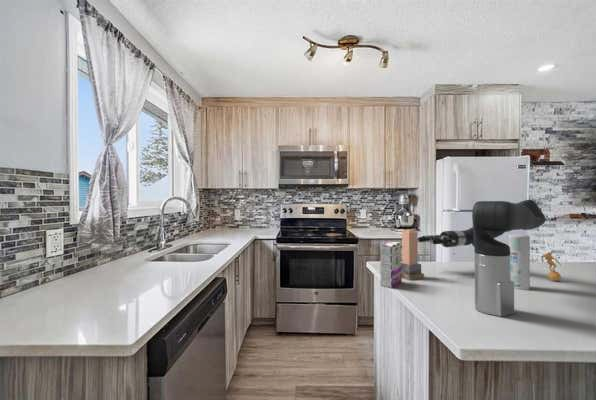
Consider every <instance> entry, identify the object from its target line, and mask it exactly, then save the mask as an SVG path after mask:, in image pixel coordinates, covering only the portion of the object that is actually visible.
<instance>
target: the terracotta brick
mask: <svg viewBox="0 0 596 400" xmlns="http://www.w3.org/2000/svg"><path fill="white" fill-rule="evenodd" d="M418 238H419V236H418V231H413V229H406V230H405V231H404V230H403V231H401V263H404V264H408V265H414V264H419V263H418V262H419V261H418V258H419V257H418V256H419V255H418V253H419V252H418V250H419V248H418V247H419V245H418V244H419V243H418V242H419V241H418Z"/></svg>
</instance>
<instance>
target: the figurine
mask: <svg viewBox="0 0 596 400" xmlns="http://www.w3.org/2000/svg"><path fill="white" fill-rule="evenodd" d="M552 255H553V253H552V251H549V252H548V253H545V254H543V255H541V256H540V257H541V261H542V263H544V262H545V260H544V258H545V259H546V263H547V264H548V265H549V267H548V268H549V270H550V272H549V273H548V274H547V275H548V279H549V280H551V281H553V282H558V281H560V280H561V279H562V276H561V274H560V273H559V272H557V271H556V270H555V269H556V267H557V264H559V265H560V267H562V264H561V262H559V260H557V258H555V257H554V256H552ZM552 260H554V261H555V262H556V263H557V264H556V263H555V262H554V261H552Z"/></svg>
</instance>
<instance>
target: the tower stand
mask: <svg viewBox="0 0 596 400" xmlns="http://www.w3.org/2000/svg"><path fill="white" fill-rule="evenodd" d="M401 277H402V279H405V280H408V281H417V280H423V278H424V279H425V274H424V273H422V264H421V263H418V264H414V265H408V264H404V263H402V262H401Z"/></svg>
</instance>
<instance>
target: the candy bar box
mask: <svg viewBox="0 0 596 400" xmlns="http://www.w3.org/2000/svg"><path fill="white" fill-rule="evenodd" d="M379 261H380V262H379V263H380V268H379V269H380V287H383V288H388V289H389V288H390V289H393V288H395V287H396V286H398V285H400V284H401V283H402V279H403V278H402V277H401V263H402V242H396V241H389V242H386V243H382V244H380V245H379Z"/></svg>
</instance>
